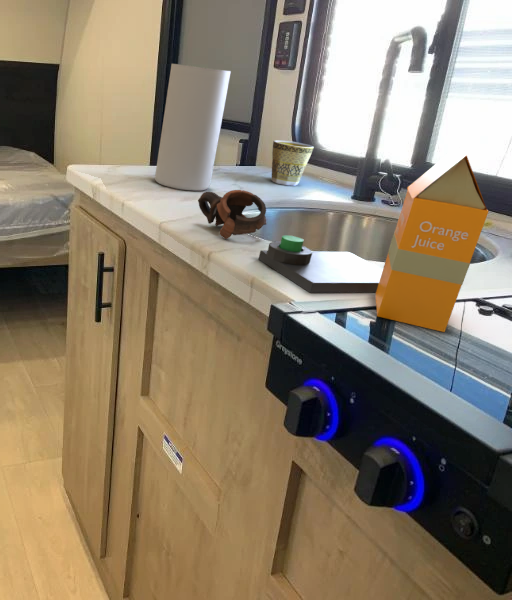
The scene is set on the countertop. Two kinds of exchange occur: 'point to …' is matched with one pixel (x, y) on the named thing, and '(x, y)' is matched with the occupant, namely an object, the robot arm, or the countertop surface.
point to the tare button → (291, 243)
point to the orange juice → (432, 245)
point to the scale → (323, 269)
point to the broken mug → (232, 212)
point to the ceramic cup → (289, 161)
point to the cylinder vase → (191, 127)
